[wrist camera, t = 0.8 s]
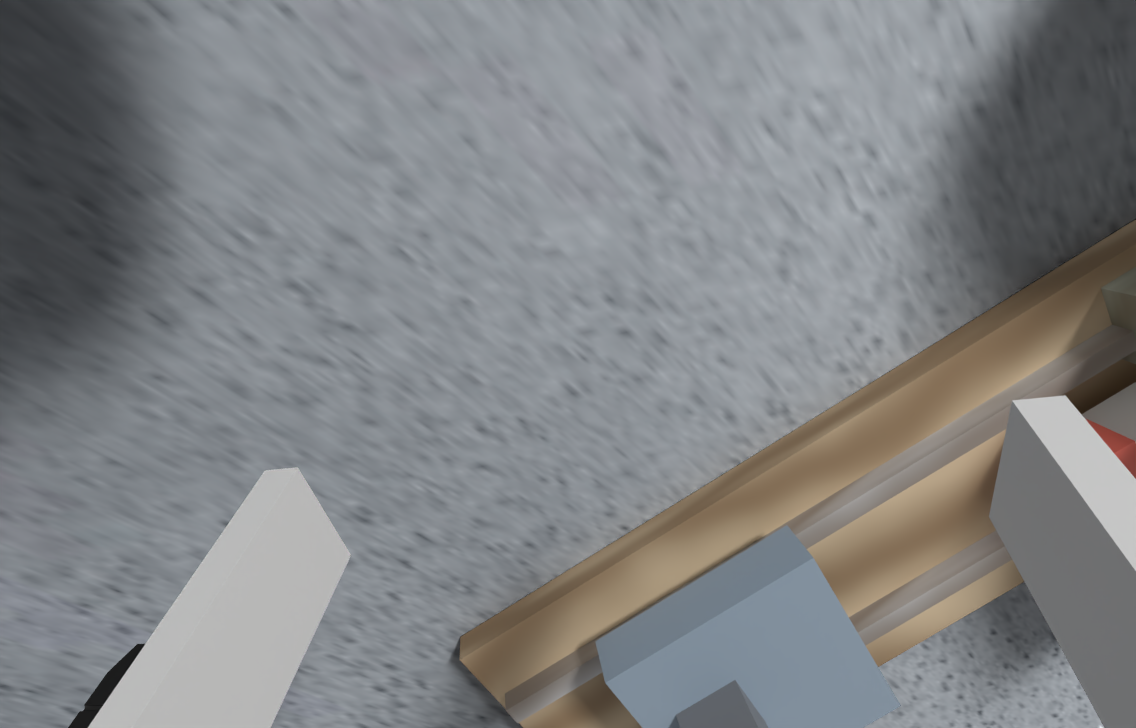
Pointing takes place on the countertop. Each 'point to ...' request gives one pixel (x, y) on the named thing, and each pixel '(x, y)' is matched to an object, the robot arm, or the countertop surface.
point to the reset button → (1117, 425)
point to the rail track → (844, 497)
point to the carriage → (748, 650)
